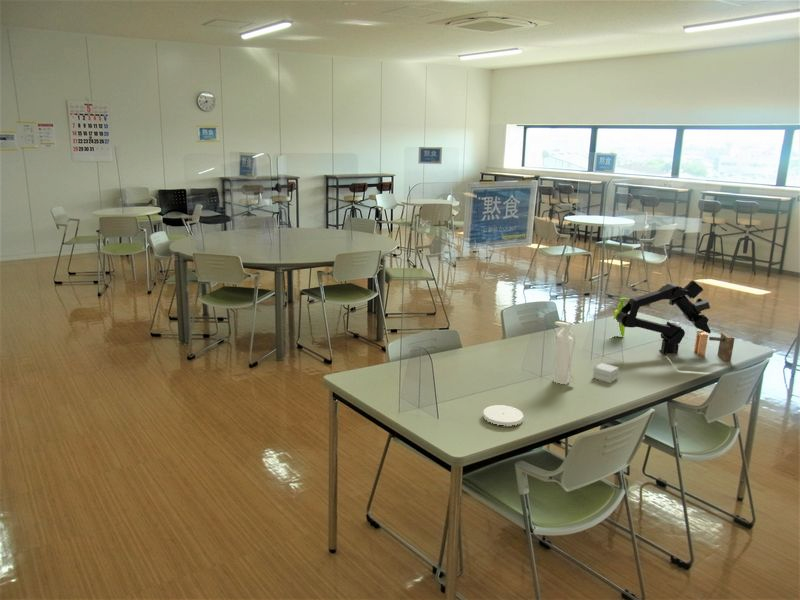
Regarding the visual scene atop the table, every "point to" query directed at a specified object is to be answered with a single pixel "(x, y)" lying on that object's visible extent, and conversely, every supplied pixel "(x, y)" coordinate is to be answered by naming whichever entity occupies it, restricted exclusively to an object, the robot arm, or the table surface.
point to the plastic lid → (503, 415)
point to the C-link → (701, 343)
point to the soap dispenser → (620, 306)
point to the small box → (605, 372)
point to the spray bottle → (564, 354)
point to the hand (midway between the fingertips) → (706, 329)
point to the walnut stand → (724, 346)
